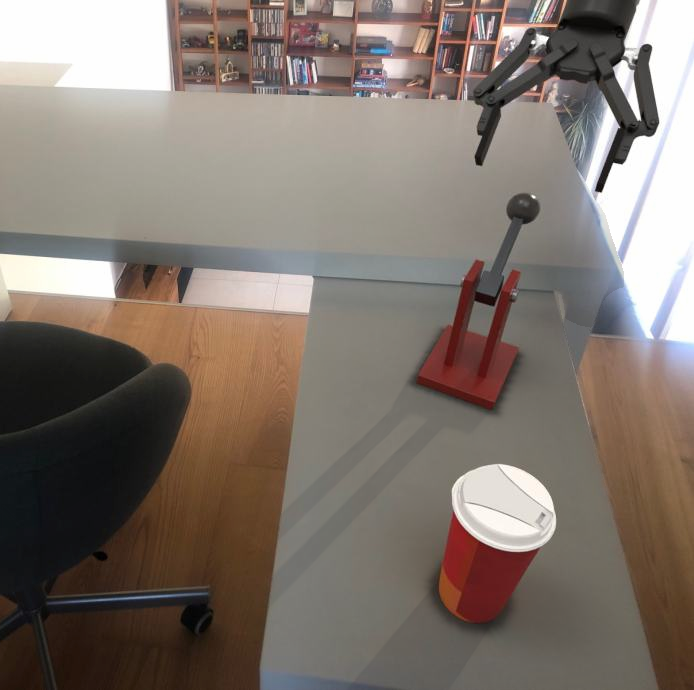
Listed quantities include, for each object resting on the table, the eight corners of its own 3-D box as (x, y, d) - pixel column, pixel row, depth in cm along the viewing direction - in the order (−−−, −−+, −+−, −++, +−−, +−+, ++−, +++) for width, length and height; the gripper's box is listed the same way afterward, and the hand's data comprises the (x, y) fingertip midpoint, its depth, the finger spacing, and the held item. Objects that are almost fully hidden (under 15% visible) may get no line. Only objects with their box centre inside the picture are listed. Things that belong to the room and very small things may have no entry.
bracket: (446, 331, 90) (467, 240, 81) (516, 354, 86) (547, 261, 77) (416, 382, 82) (435, 289, 73) (491, 410, 79) (522, 315, 70)
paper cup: (531, 591, 62) (578, 495, 53) (488, 654, 58) (532, 561, 49) (453, 540, 66) (484, 442, 57) (408, 594, 62) (434, 499, 53)
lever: (511, 201, 82) (513, 182, 79) (542, 208, 81) (546, 190, 77) (467, 301, 78) (469, 286, 75) (499, 311, 77) (502, 296, 74)
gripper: (716, 35, 78) (649, 211, 78) (495, 7, 88) (435, 162, 89) (735, -5, 71) (661, 188, 72) (492, -30, 82) (428, 138, 82)
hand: (536, 174), depth 80 cm, fingers open, 13 cm apart
